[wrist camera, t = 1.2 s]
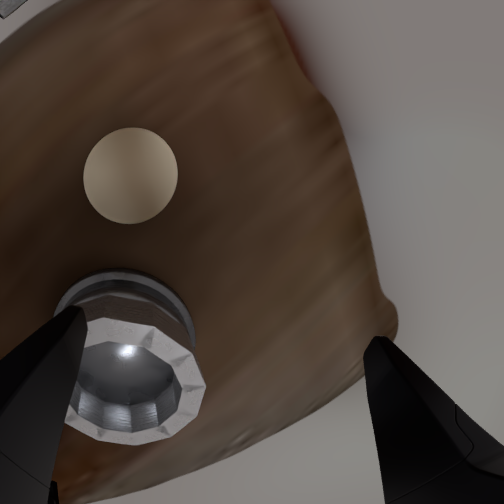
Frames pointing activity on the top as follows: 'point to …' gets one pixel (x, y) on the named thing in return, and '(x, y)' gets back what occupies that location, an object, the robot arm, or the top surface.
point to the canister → (133, 359)
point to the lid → (130, 175)
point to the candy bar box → (9, 7)
